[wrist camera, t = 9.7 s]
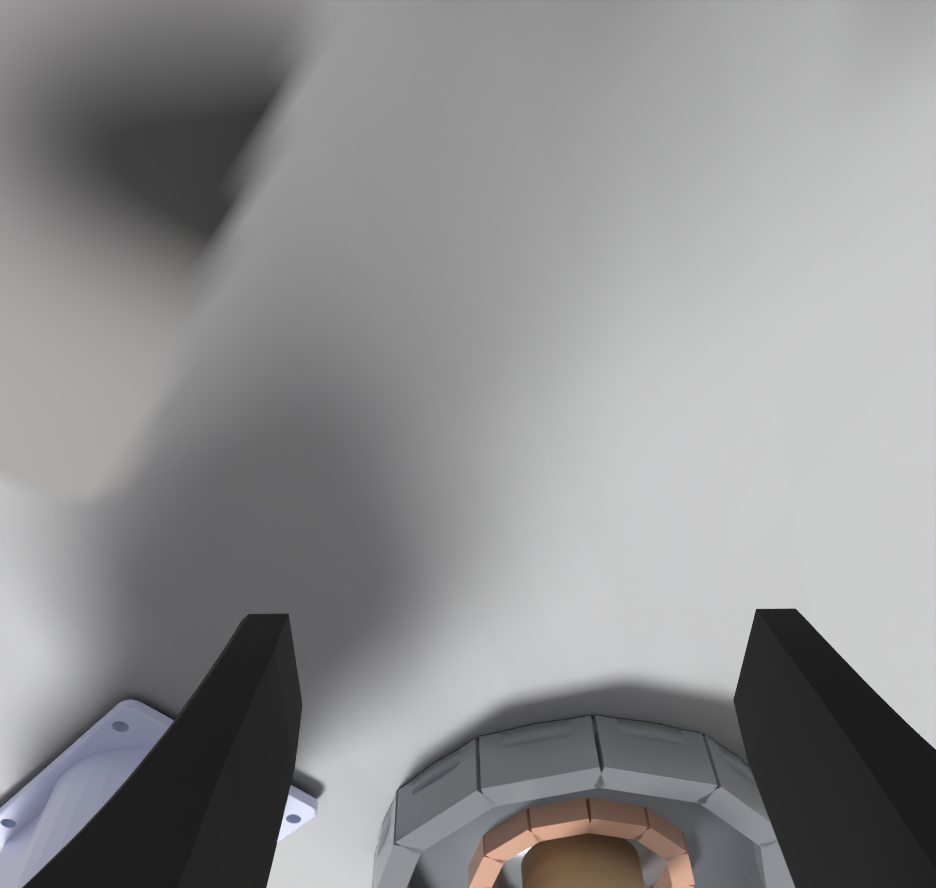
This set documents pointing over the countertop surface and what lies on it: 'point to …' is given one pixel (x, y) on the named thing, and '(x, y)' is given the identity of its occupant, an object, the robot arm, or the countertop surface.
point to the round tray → (582, 808)
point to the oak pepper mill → (582, 863)
